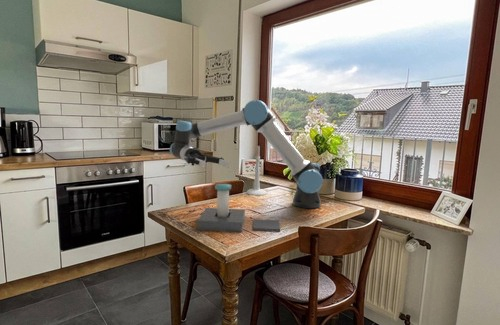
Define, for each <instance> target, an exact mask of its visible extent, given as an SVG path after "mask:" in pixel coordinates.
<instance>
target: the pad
mask: <svg viewBox="0 0 500 325" xmlns="http://www.w3.org/2000/svg"><path fill="white" fill-rule="evenodd" d="M280 225H281V224H280V220H278V219H277V220H276V219H257V218H255V219H253V226H252V227H253V229H252V231H260V232H261V231H262V232H263V231H264V232H281V226H280Z"/></svg>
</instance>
